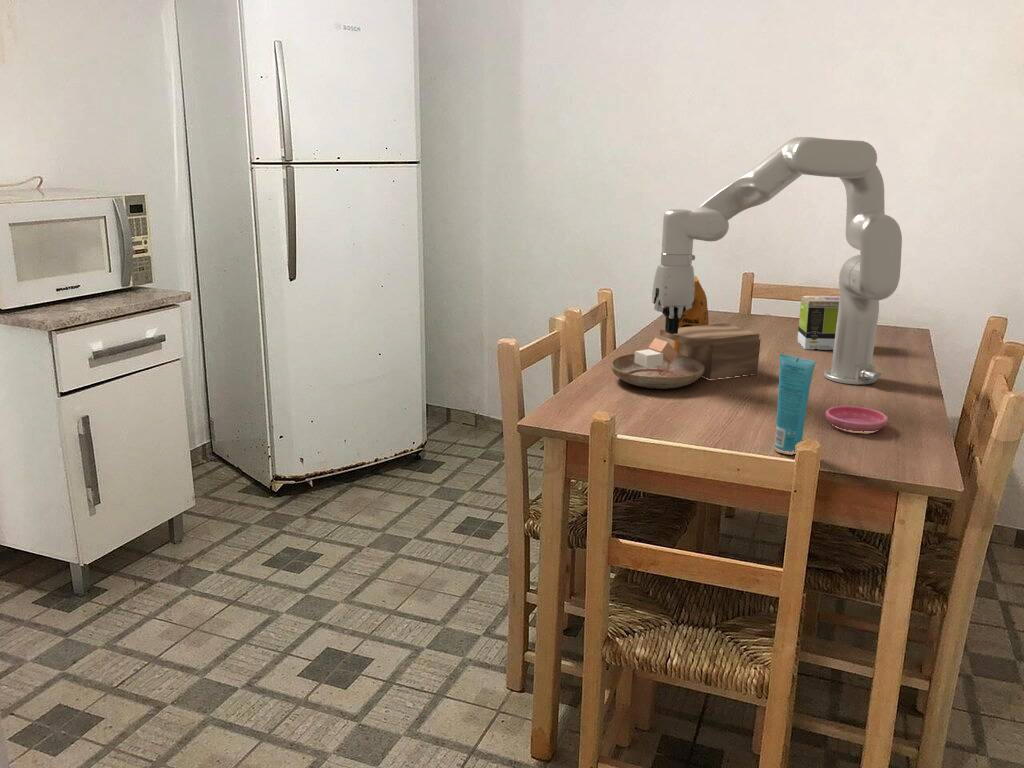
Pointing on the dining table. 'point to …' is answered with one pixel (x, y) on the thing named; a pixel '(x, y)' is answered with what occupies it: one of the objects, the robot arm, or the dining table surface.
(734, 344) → the wooden box
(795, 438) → the tube
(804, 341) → the tea box
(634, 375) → the ceramic bowl
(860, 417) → the saucer
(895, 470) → the dining table surface
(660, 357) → the white square block
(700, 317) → the coffee package
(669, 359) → the peach clay cube
